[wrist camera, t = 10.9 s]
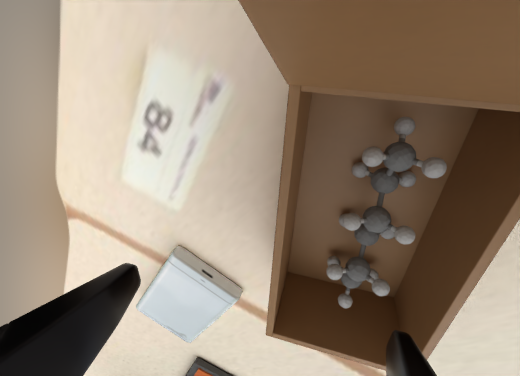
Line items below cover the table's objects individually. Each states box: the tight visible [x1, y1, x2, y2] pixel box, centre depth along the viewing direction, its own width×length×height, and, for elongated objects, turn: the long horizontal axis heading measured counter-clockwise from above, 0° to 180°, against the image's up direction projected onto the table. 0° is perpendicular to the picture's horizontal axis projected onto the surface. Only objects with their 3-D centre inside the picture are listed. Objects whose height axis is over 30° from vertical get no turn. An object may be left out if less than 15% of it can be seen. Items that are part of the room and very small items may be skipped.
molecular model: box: [327, 117, 447, 308], centre depth 17 cm, size 14×4×5 cm, turn 175°
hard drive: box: [136, 246, 242, 343], centre depth 30 cm, size 2×8×12 cm
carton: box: [266, 84, 520, 371], centre depth 17 cm, size 18×10×6 cm, turn 177°
